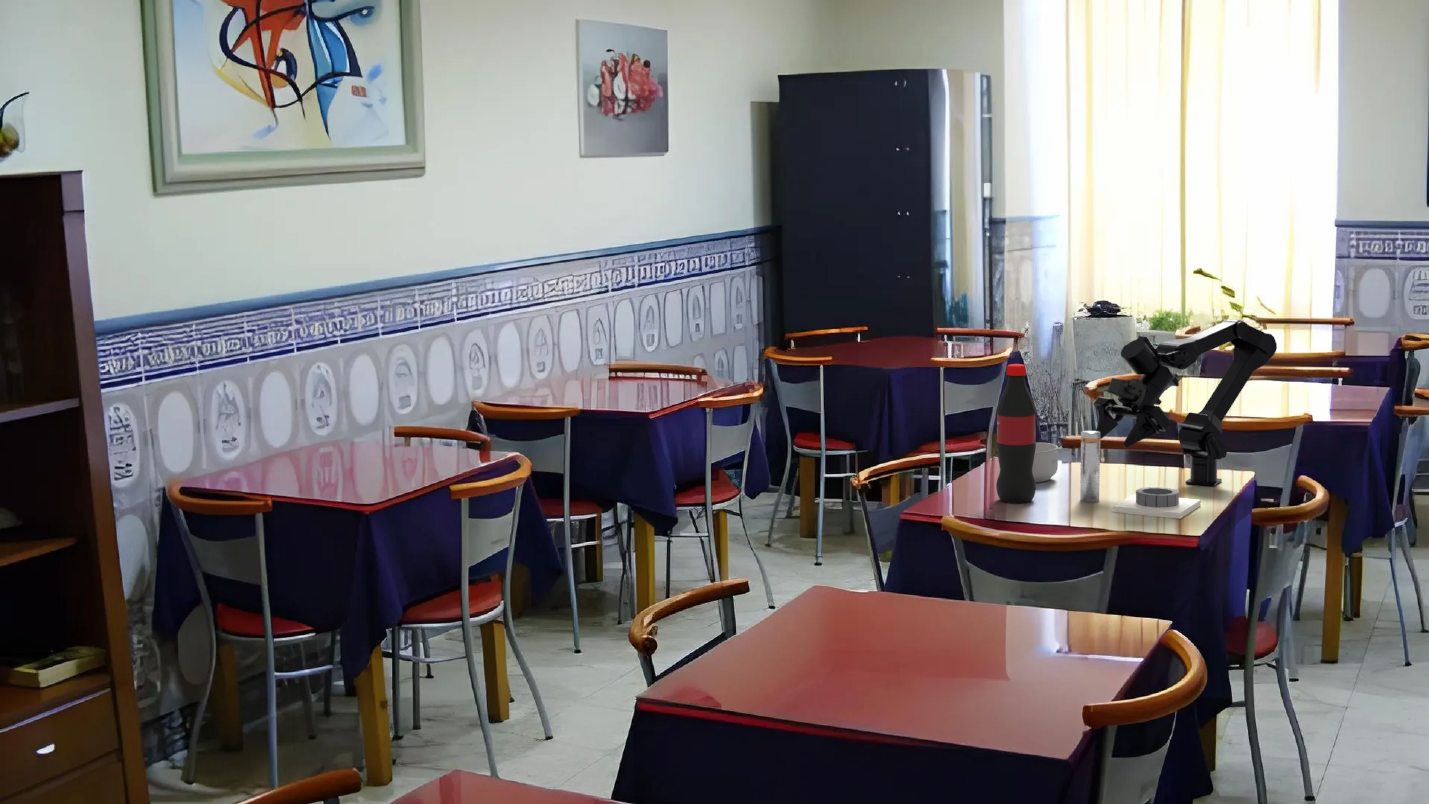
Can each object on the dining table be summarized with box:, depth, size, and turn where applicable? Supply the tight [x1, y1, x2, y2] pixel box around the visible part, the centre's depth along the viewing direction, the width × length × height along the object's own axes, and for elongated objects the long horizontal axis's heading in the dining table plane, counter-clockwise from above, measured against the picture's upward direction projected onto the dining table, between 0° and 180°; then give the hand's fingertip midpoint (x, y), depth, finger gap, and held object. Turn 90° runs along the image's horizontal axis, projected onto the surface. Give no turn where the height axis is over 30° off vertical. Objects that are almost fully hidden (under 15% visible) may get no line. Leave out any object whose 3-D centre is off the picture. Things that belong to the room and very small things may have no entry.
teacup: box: [1032, 442, 1059, 483], centre depth 339 cm, size 14×11×8 cm
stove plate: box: [1112, 486, 1202, 520], centre depth 305 cm, size 14×14×4 cm
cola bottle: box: [995, 363, 1037, 504], centre depth 315 cm, size 8×8×30 cm
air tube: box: [1079, 430, 1101, 504], centre depth 314 cm, size 4×4×15 cm
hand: (1109, 443), depth 316 cm, fingers open, 9 cm apart
